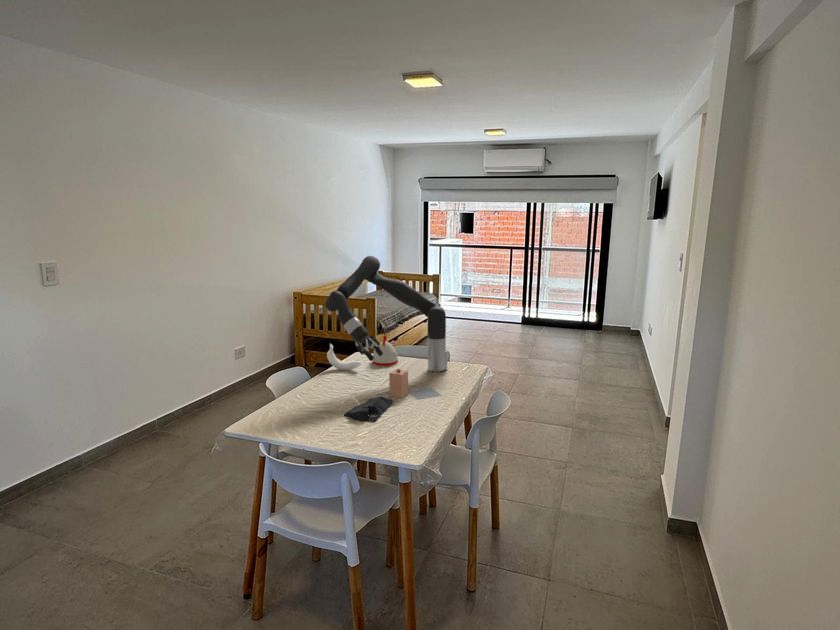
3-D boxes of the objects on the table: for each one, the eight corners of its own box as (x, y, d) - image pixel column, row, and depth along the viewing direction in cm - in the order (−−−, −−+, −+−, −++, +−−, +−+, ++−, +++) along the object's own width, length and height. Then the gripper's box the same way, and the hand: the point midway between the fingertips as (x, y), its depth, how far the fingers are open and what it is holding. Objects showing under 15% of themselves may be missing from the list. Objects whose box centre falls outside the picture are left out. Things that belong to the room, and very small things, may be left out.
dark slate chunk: (399, 405, 212) (398, 395, 211) (372, 425, 193) (372, 413, 192) (368, 400, 219) (367, 390, 218) (339, 418, 199) (339, 407, 198)
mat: (430, 388, 231) (430, 387, 231) (442, 396, 221) (442, 395, 220) (407, 392, 227) (407, 391, 227) (417, 401, 216) (417, 399, 216)
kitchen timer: (399, 359, 280) (399, 333, 277) (396, 366, 266) (395, 339, 263) (375, 358, 281) (374, 332, 278) (370, 365, 267) (369, 338, 265)
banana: (360, 372, 256) (359, 345, 253) (325, 370, 260) (324, 343, 257) (363, 369, 261) (362, 342, 258) (329, 367, 265) (328, 341, 262)
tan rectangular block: (396, 392, 227) (395, 366, 225) (408, 394, 225) (408, 368, 222) (389, 396, 222) (389, 370, 219) (402, 398, 219) (401, 372, 217)
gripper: (358, 330, 235) (379, 358, 233) (342, 337, 222) (363, 366, 220) (368, 321, 231) (389, 349, 229) (352, 327, 219) (374, 356, 217)
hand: (377, 357), depth 225 cm, fingers open, 8 cm apart
